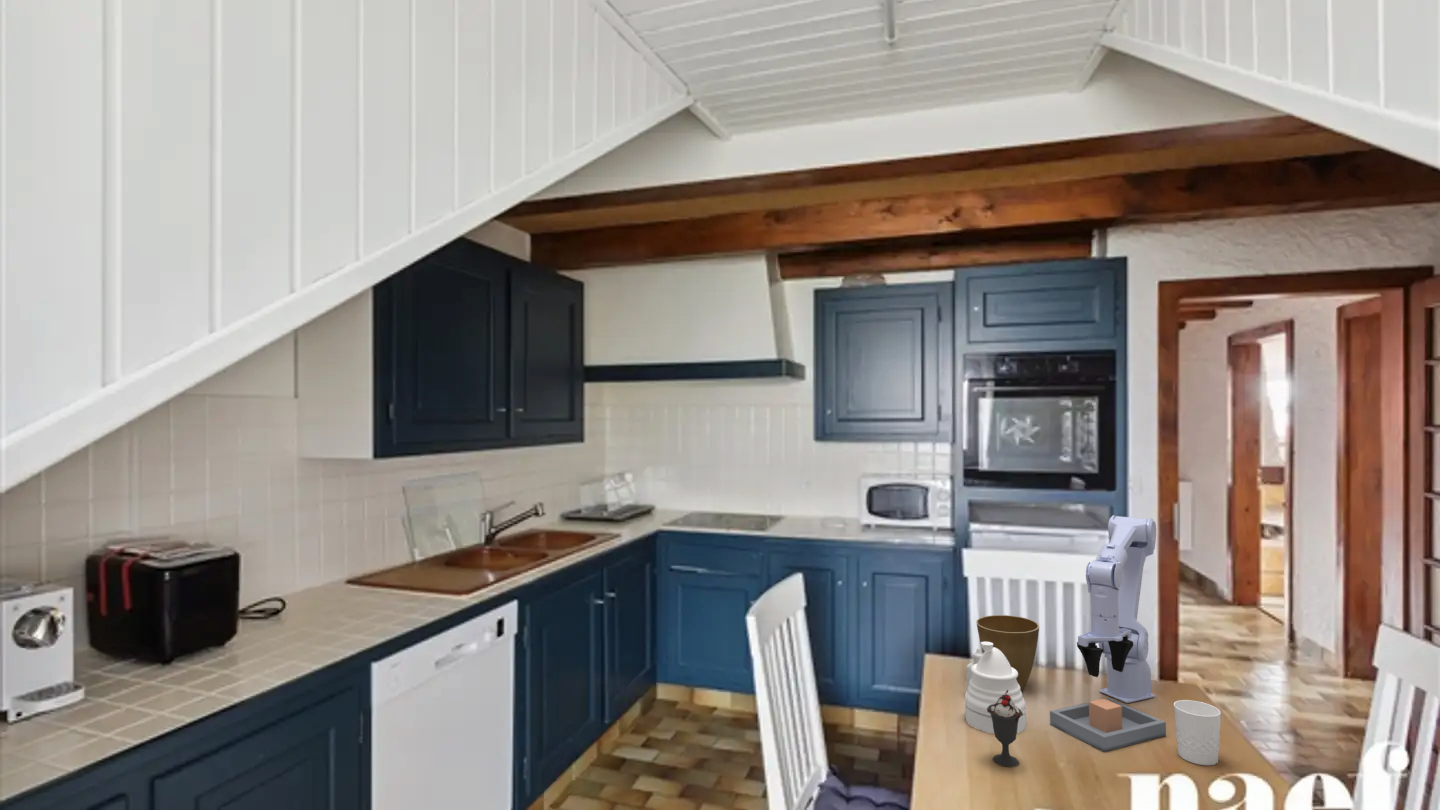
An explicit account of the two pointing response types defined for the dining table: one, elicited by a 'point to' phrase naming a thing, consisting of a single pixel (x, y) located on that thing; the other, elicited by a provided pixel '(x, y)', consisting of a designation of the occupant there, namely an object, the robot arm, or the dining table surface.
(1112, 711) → the block
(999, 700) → the sundae
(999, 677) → the honey pot
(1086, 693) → the dining table surface
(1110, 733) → the tray
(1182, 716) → the white cup
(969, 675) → the eye dropper bottle
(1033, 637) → the plant pot
